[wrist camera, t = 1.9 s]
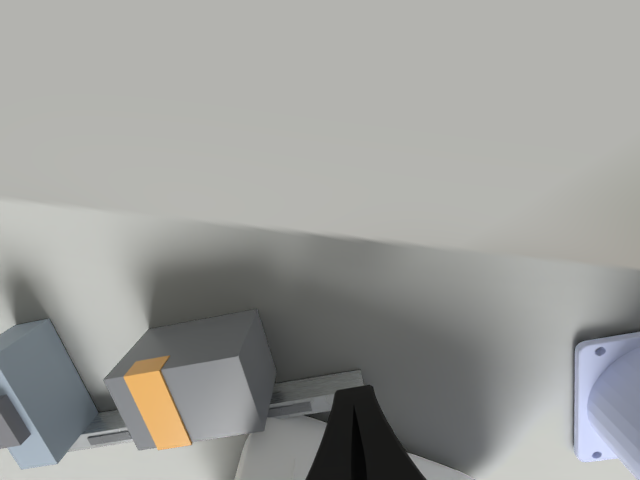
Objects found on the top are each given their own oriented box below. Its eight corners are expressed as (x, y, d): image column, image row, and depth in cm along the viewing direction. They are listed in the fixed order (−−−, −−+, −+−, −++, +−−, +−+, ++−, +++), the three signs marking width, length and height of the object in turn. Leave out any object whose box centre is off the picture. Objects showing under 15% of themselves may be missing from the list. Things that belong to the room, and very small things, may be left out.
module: (257, 306, 18) (237, 356, 14) (277, 371, 19) (263, 433, 15) (149, 326, 18) (101, 380, 14) (175, 388, 20) (137, 453, 16)
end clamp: (49, 318, 18) (-21, 365, 15) (98, 412, 20) (47, 475, 16) (15, 325, 18) (-62, 373, 15) (67, 417, 20) (10, 481, 17)
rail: (360, 369, 19) (363, 390, 17) (363, 384, 19) (366, 406, 17) (59, 419, 20) (38, 442, 19) (67, 432, 21) (46, 456, 19)
